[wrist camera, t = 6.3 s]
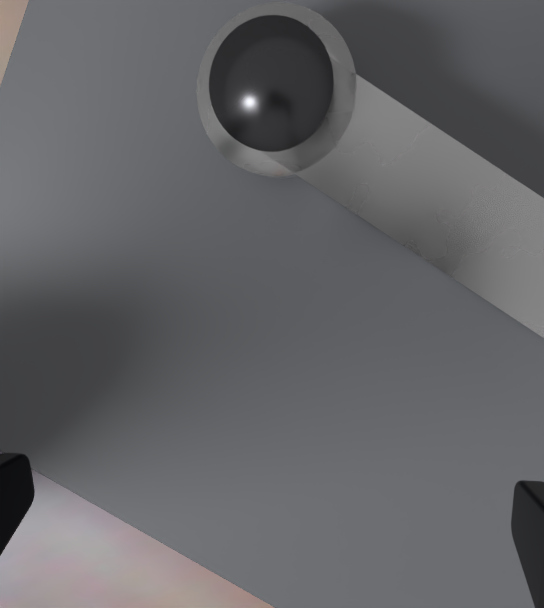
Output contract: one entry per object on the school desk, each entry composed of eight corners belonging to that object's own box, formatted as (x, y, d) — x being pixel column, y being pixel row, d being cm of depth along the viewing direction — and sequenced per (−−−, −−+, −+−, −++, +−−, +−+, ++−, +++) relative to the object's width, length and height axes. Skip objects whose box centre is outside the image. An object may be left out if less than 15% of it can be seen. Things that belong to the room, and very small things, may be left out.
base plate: (628, 787, 20) (643, 817, 19) (-81, 383, 20) (-102, 392, 19) (1209, 286, 14) (1276, 294, 13) (151, -291, 14) (137, -327, 13)
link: (190, 130, 15) (168, 120, 13) (261, -2, 14) (248, -33, 12) (704, 470, 15) (757, 508, 14) (816, 367, 14) (891, 393, 12)
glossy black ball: (297, 174, 13) (294, 173, 12) (197, 118, 13) (188, 114, 12) (356, 62, 12) (357, 53, 12) (249, 3, 12) (243, -10, 12)
